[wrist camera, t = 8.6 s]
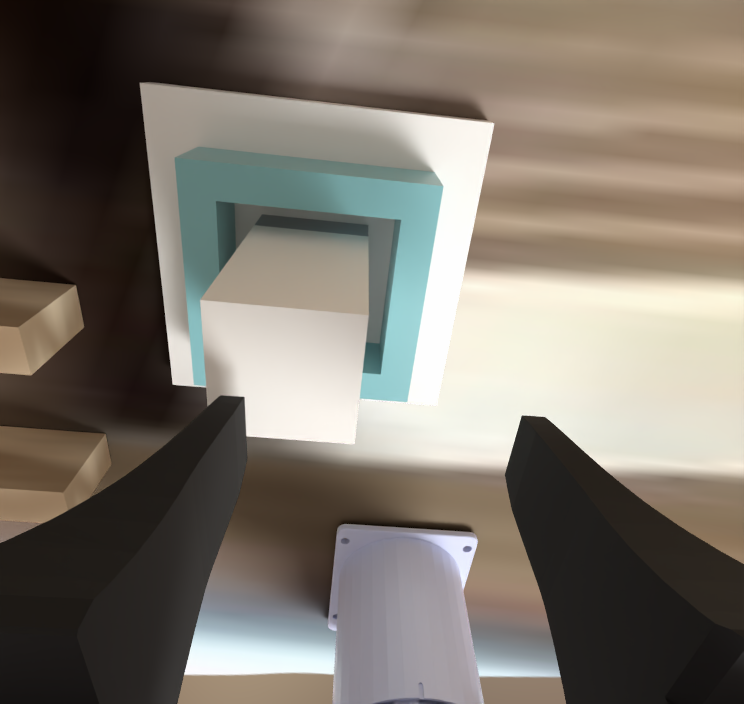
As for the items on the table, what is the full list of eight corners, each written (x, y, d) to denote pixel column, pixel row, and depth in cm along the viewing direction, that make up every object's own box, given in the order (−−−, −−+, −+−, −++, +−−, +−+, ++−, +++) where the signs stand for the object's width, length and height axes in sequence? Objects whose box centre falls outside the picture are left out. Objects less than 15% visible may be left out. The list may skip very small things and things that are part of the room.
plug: (358, 319, 21) (354, 444, 14) (262, 310, 21) (209, 433, 14) (368, 224, 19) (369, 315, 12) (262, 214, 19) (200, 299, 12)
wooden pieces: (111, 464, 26) (72, 525, 23) (-9, 455, 26) (-67, 516, 22) (75, 284, 21) (18, 327, 18) (-73, 271, 21) (-161, 312, 17)
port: (434, 393, 24) (444, 440, 21) (180, 372, 23) (152, 418, 20) (488, 120, 18) (512, 130, 15) (150, 82, 17) (105, 84, 14)
